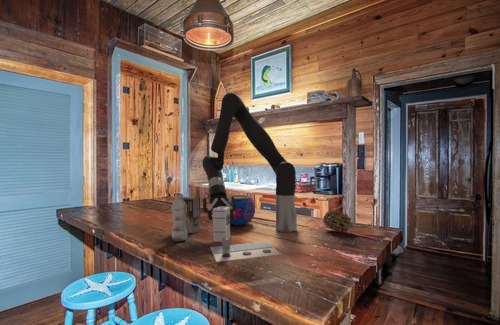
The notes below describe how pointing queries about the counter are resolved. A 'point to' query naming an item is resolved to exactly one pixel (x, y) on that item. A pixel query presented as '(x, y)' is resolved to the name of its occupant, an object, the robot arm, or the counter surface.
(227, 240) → the peg
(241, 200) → the ceramic pot
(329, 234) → the counter surface
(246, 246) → the board
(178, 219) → the plastic bottle
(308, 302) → the counter surface
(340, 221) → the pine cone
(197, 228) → the coffee box
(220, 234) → the syrup box
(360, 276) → the counter surface
